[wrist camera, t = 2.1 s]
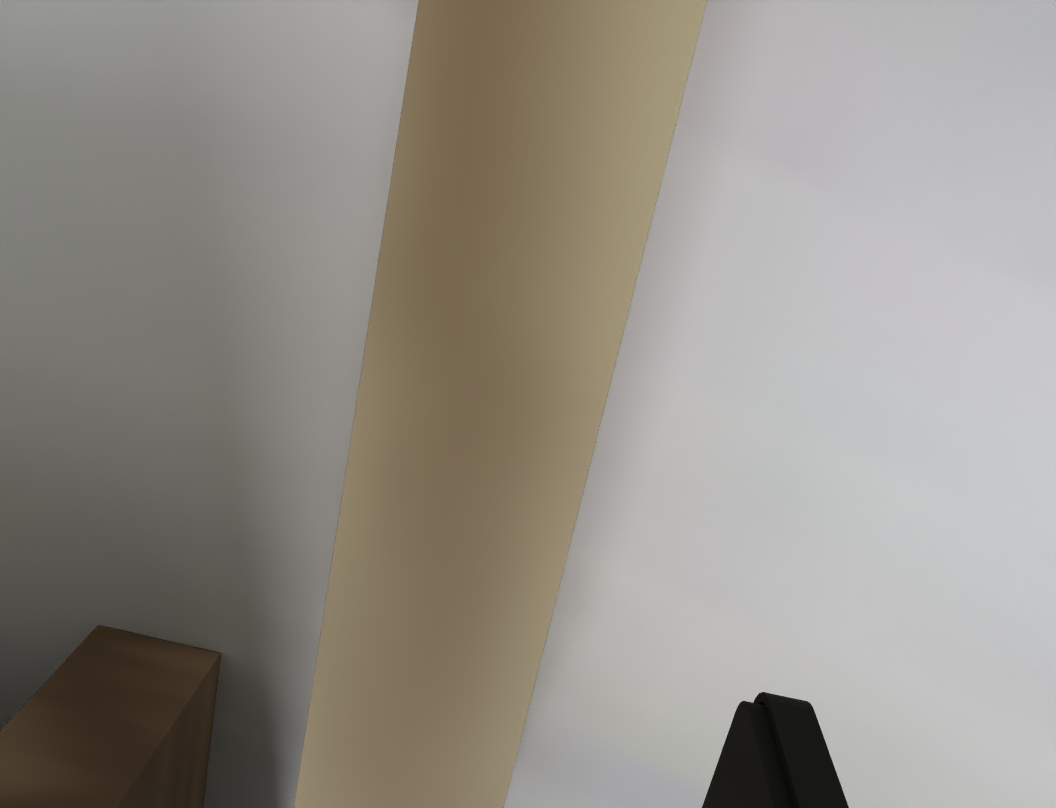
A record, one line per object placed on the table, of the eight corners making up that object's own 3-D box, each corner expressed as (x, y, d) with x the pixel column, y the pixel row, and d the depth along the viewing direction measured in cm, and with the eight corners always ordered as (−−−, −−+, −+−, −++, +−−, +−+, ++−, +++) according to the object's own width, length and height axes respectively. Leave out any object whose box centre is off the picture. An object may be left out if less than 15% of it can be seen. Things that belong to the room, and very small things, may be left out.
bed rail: (709, -118, 16) (762, -217, 11) (475, 846, 24) (433, 1084, 18) (513, -161, 16) (462, -281, 11) (340, 814, 24) (257, 1044, 18)
